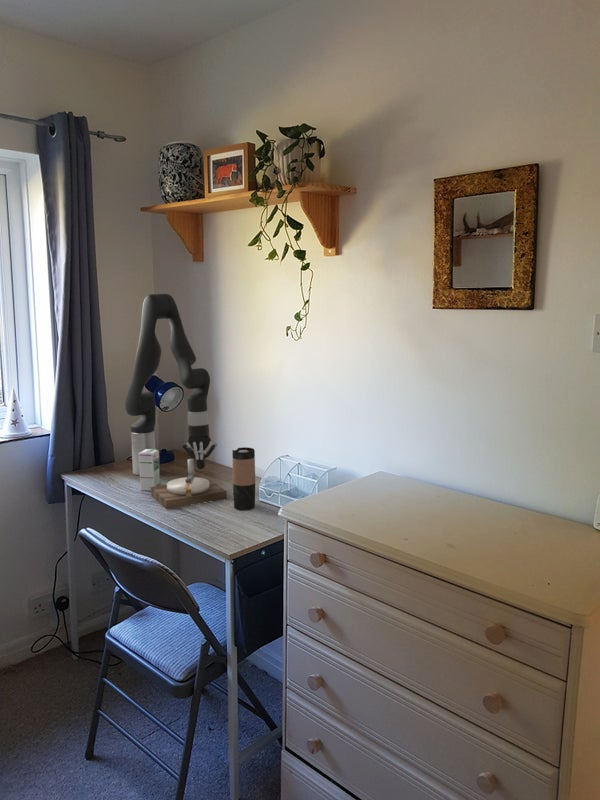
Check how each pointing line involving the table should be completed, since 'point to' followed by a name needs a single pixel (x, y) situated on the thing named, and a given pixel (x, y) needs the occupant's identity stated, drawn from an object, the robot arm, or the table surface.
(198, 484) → the dial
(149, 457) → the syrup box
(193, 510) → the table surface
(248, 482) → the travel mug
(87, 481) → the table surface
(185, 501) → the dial stand
